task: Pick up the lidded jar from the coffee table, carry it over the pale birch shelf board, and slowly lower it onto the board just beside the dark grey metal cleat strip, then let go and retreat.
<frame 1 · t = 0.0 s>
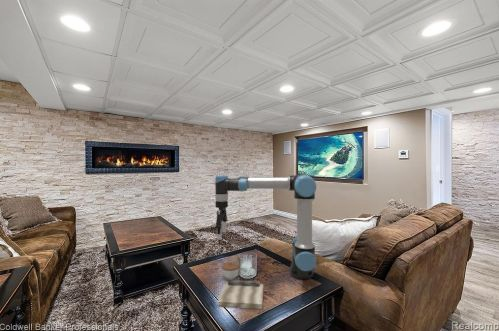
hand: (221, 235, 136), 28 cm above the table, fingers open, 13 cm apart
lidded jar: (230, 277, 141), on the table
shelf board: (242, 297, 120), on the table
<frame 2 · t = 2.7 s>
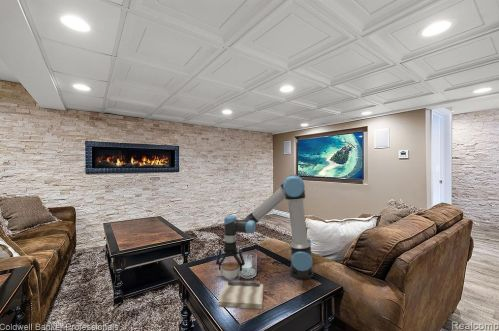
hand: (230, 275, 141), 1 cm above the table, fingers closed on lidded jar, 11 cm apart
lidded jar: (230, 277, 141), on the table, touching gripper
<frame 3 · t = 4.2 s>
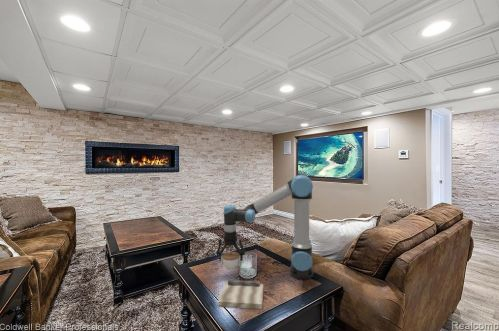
hand: (231, 265, 141), 7 cm above the table, fingers closed on lidded jar, 11 cm apart
lidded jar: (231, 267, 141), point 6 cm above the table, touching gripper
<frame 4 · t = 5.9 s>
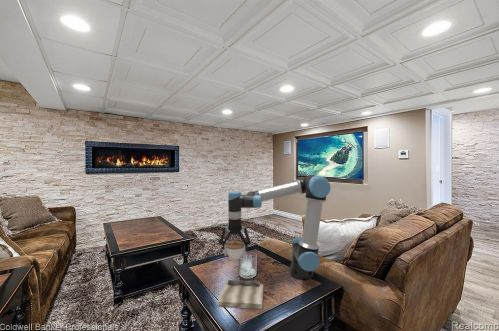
hand: (235, 255, 131), 18 cm above the table, fingers closed on lidded jar, 11 cm apart
lidded jar: (235, 257, 131), point 17 cm above the table, touching gripper
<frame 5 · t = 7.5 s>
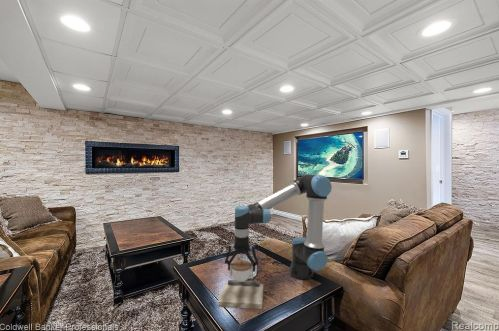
hand: (241, 276, 120), 11 cm above the table, fingers closed on lidded jar, 11 cm apart
lidded jar: (241, 279, 120), point 10 cm above the table, touching gripper
when the fingers open (4 cm above the table, at t = 9.0 s): lidded jar stays where it is, resting on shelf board.
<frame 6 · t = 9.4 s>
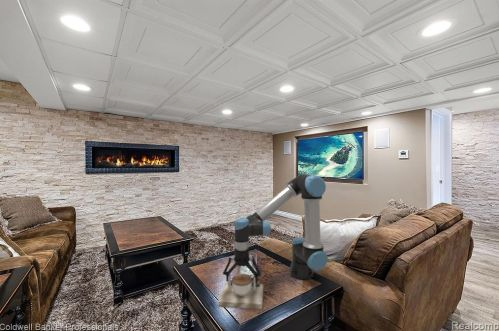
hand: (242, 287, 120), 5 cm above the table, fingers open, 13 cm apart
lidded jar: (242, 293, 120), point 2 cm above the table, touching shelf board
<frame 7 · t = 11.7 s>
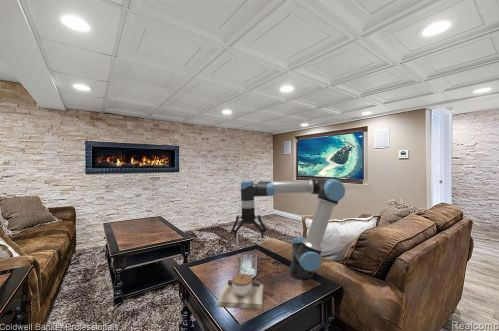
hand: (249, 243, 130), 25 cm above the table, fingers open, 13 cm apart
nothing on the table moved.
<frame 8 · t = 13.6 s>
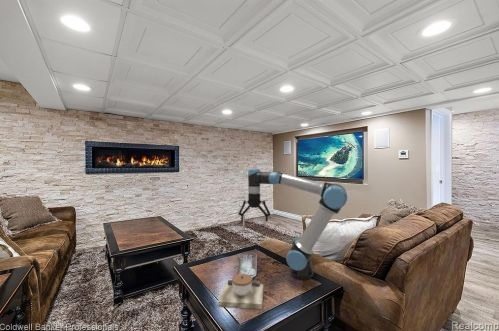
hand: (254, 226, 142), 32 cm above the table, fingers open, 13 cm apart
nothing on the table moved.
at the end: lidded jar inside the target area on the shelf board (0.5 cm from its centre), point 2.3 cm above the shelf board's base; lidded jar tilted 0°; the gripper is holding nothing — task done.
